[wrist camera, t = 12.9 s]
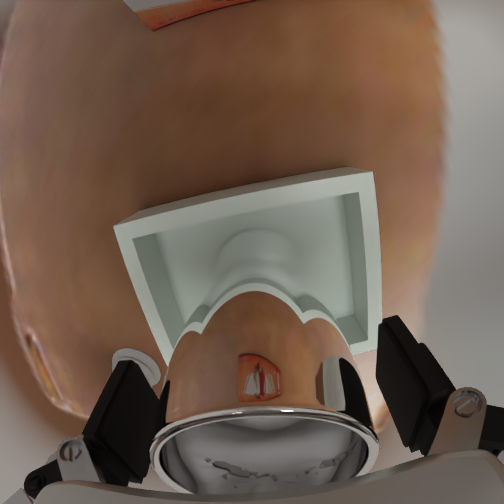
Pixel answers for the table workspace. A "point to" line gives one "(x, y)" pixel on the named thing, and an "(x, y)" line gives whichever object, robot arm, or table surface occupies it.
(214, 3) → the cracker box
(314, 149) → the table surface
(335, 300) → the bin
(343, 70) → the table surface
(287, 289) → the beer glass
